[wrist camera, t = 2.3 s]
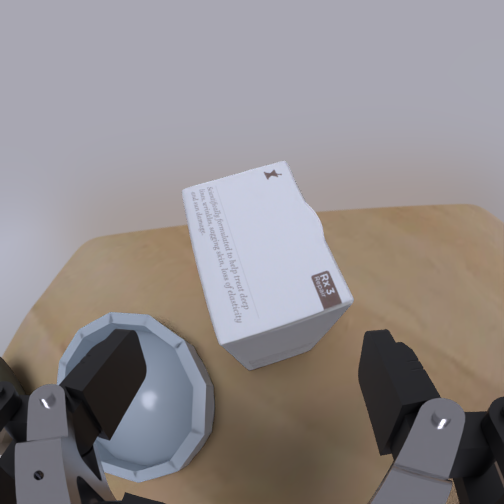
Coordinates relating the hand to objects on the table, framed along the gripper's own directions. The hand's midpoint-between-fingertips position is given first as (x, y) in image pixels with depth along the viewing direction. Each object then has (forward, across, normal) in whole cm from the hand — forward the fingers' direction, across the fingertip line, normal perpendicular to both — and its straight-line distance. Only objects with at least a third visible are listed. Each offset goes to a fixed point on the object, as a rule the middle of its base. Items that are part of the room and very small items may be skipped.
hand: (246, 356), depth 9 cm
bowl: (+9, +12, +13) cm, 20 cm away
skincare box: (+15, 0, +7) cm, 16 cm away
